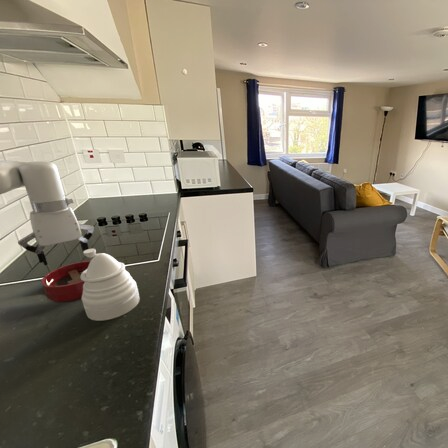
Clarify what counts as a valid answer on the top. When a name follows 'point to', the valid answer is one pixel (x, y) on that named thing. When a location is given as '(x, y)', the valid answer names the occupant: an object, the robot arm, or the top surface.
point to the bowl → (64, 291)
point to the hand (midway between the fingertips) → (66, 258)
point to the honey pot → (107, 287)
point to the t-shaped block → (74, 277)
